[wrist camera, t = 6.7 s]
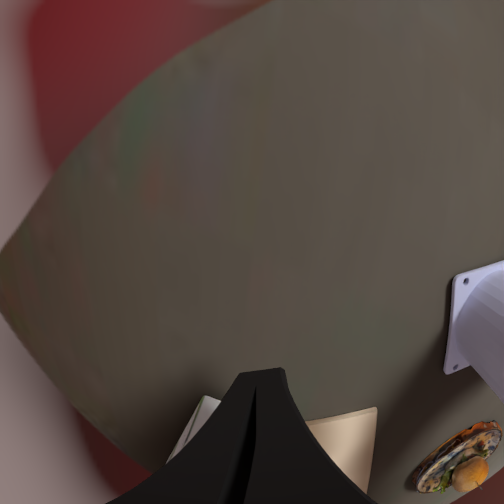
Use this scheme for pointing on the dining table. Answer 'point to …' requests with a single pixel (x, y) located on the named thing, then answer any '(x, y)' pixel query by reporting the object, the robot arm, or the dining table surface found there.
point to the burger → (459, 460)
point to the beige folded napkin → (349, 442)
